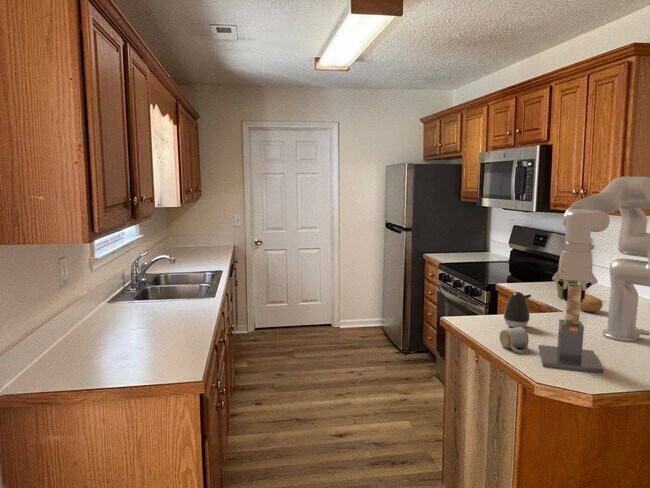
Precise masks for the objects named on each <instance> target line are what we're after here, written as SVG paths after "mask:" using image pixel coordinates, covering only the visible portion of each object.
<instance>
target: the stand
mask: <svg viewBox="0 0 650 488" xmlns="http://www.w3.org/2000/svg"><path fill="white" fill-rule="evenodd" d="M584 330H585V327H584V324H583V322H582V321H580V320H579V326H577V325H566V324H564V319H559V320H558V332H557V333H558V335H557V346H555V345H554V346H553V345H545V344H543V345H542V344H538V352H539V356H540V360H541V365H542V367H545V368H551V369H552V368H553V369H559V370H560V369H561V370H562V369H563V370H570V371H575V372H577V371H578V372H586V373H594V374H595V373H596V374H604V367H603V366H602V364H601V362H600V360H599V359H598V357H597V355H596V353H595V352H594V350H592V349H591V350H590V349H583V345H584V333H585V331H584Z"/></svg>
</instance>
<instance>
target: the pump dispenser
mask: <svg viewBox="0 0 650 488" xmlns="http://www.w3.org/2000/svg"><path fill="white" fill-rule="evenodd" d="M531 297H532V295H531V294H526V295H524V294H523V293H522V292H520V291H515V292H513V293H511V295H510V296H509V298H508V300H507V302H506V305H505V307H504V312H503V313H504V314H503V319H504V322H505V323H506V325H507V326H509V328H516V327H523V328H525V327H526V326H527V325H528V323H529V321H530V309H529V304H528V301H527V299H528V298H531Z"/></svg>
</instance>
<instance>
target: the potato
mask: <svg viewBox="0 0 650 488" xmlns="http://www.w3.org/2000/svg"><path fill="white" fill-rule="evenodd" d="M603 304H604V303H603V301H602V300H601V299H600V298H598V297H596V296H593V295H591V294H587V293H585V299H583V302H580V310H581V311H583V312H590V313H595V312H598V311H600V310H601V309H602V308H603V306H604V305H603Z"/></svg>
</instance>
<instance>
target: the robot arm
mask: <svg viewBox="0 0 650 488" xmlns="http://www.w3.org/2000/svg"><path fill="white" fill-rule="evenodd" d="M642 209H644V210H650V177H648V176H619V177H616V178H614V179H612V181H610V182H609V183H608V184H607V185H606V186H605V187H604V188H603V189H602V190H601V191H600V192H599V193H596V194H595V193H594V194H593V195H589V196H587V197H584V198H581V199H579V200H577V201H575V202H573V203H572V204H571V205H570V206H569V207H568V208H567V209H566V210H565V212H564V214H563V216H562V224H563V226H564V227H565V237H564V249H563V250H561V252H560V255H559V260H558V261H559V262H558V266H557V267H558V269H557V271H556V272H555V273H554V275H553V276H552V278H551V279H552V281H554V282H555V283H556V282H557V283H558V284H559V285H560V286H561V287H562V288H563V291H562V298H564V299H563V300H564V301H565V302H566V301H567V296H568V289H567V285H568V281H578V282H579V283H580V285H581V287H582V288H581V302H583V299H585V294H586V291H587V290H588V289H589V288H591V287H592V286H593V285H594V286H595V284H598V283H599V281H598V279H597V278H596V276H595V274H594V273H593V255H592V252H591V250H595V244H591V233H601V232H604V231H605V230H607V228H608V227H609V225H610V216H609V214H611V213H616V212H617V211H619V213H620V216H621V224H620V230H619V231H620V232H619V236H618V237H619V238H618V242H617V243H618V245H617V247H618V252H619V253H620V254H622V255H624V256H630V257H637V258H639V257H640V258H645V259H648V261H647V260H639V259H634V258H633V259H632V258H624V257H623V258H616V259H615V260H612V261H611V263H610V265H609V278H610V280H609V281H610V294H609V295H610V296H609V305H608V306H609V307H608V318H607V328H606V329H604V330H603V331H602V335H603V336H604V337H606V338H609V339H611V340H615V341H621V342H637V341H640V336H650V330H646V329H643V328H638V327H637V316H638V306H639V293H638V291H637V288H636V287H635V286H634V285H637V286H643V287H649V288H650V232H647V228H648V218H647V215H646V213H645V212H644V211H643V210H642ZM558 277H559V278H560V279H561V280H563V282H562V281H561V280H559V279H558Z"/></svg>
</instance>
